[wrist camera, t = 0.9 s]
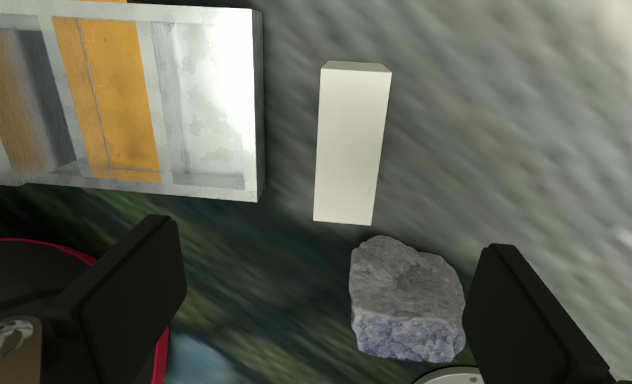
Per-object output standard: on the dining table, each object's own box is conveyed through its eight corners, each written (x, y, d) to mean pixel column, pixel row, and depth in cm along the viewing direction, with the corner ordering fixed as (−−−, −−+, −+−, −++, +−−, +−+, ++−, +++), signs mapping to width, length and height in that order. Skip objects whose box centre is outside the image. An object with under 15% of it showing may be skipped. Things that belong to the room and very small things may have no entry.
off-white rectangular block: (381, 63, 25) (391, 72, 19) (366, 184, 29) (370, 225, 23) (328, 60, 25) (321, 68, 19) (321, 181, 30) (313, 220, 23)
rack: (262, 9, 24) (228, -2, 17) (265, 187, 30) (241, 230, 23) (-21, -5, 26) (-155, -20, 19) (36, 168, 32) (-49, 204, 25)
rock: (344, 276, 34) (344, 368, 24) (349, 228, 31) (351, 309, 22) (448, 285, 33) (488, 382, 24) (460, 237, 31) (511, 324, 21)
